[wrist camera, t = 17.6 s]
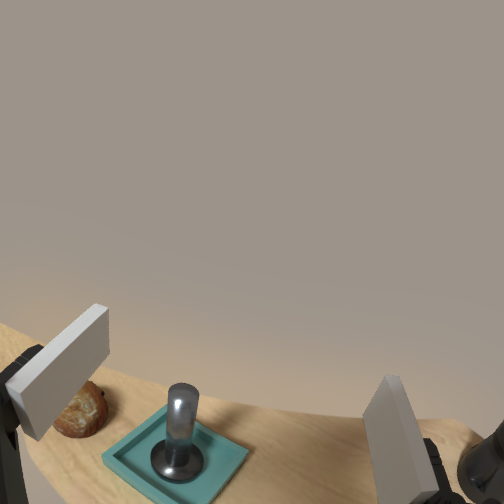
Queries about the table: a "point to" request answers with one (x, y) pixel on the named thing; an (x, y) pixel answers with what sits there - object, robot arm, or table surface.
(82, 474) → the table surface
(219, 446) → the tray
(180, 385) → the joystick
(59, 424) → the bread roll
